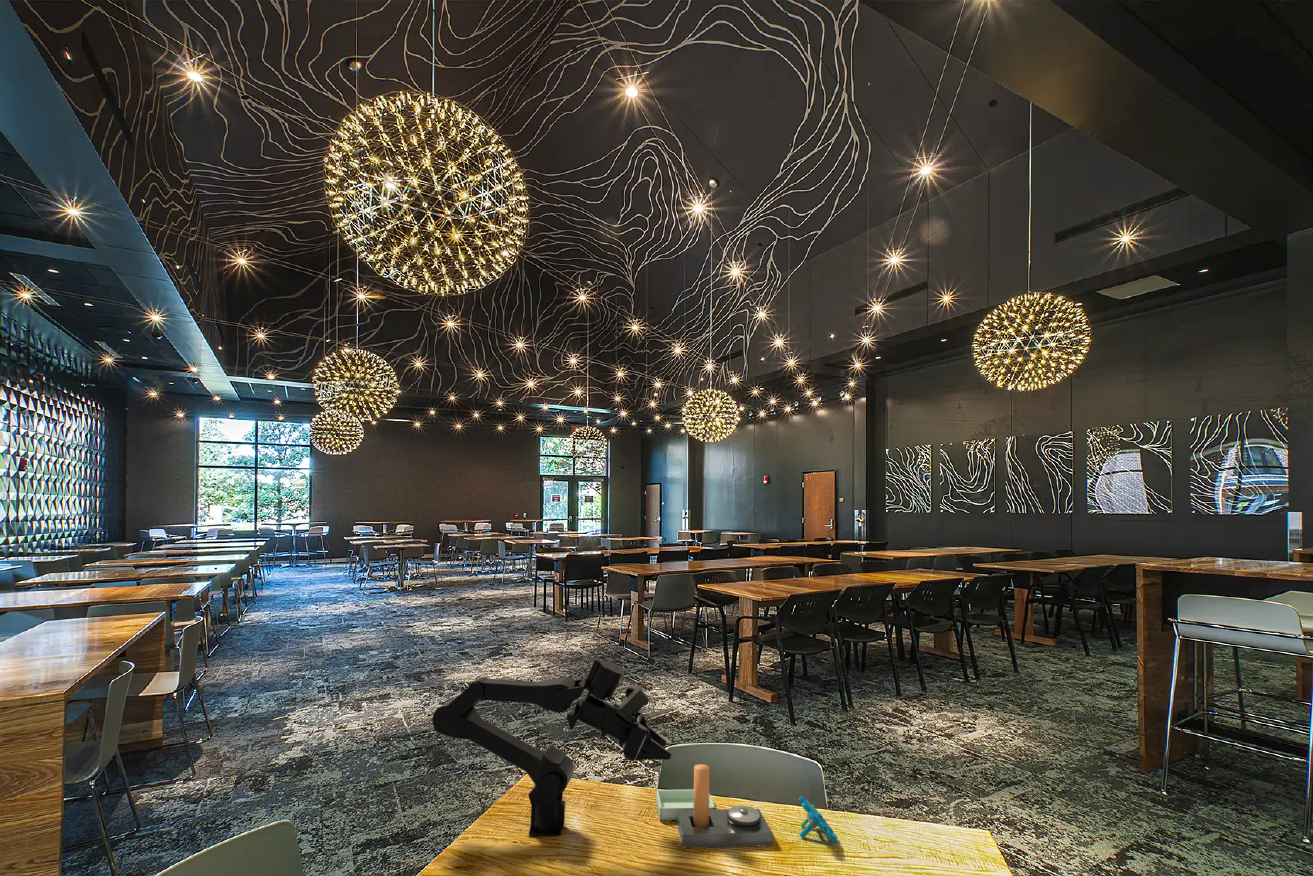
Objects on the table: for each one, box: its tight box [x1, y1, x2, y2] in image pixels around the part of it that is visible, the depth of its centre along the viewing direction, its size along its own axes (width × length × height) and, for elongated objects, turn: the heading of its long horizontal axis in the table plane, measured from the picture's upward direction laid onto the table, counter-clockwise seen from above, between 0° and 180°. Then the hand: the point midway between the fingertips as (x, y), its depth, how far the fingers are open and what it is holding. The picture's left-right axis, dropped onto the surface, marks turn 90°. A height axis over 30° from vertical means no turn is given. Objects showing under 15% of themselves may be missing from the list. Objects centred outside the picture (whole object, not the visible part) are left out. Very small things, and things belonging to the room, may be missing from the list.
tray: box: [655, 788, 716, 822], centre depth 133 cm, size 12×9×2 cm
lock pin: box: [693, 763, 710, 827], centre depth 124 cm, size 3×3×13 cm
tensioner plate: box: [676, 805, 773, 849], centre depth 123 cm, size 18×10×5 cm, turn 95°
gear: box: [798, 795, 838, 844], centre depth 123 cm, size 11×6×10 cm
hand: (668, 750), depth 126 cm, fingers open, 9 cm apart
